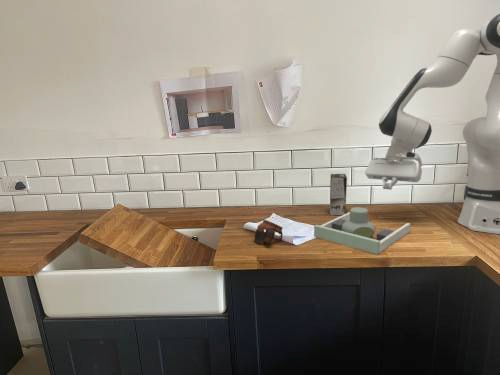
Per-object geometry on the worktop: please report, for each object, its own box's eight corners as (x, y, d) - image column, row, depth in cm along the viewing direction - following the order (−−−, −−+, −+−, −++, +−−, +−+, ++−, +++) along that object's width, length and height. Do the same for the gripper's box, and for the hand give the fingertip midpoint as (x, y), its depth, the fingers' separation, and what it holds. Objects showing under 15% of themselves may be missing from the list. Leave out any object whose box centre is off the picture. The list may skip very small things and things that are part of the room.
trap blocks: (395, 238, 117) (395, 231, 116) (387, 243, 113) (388, 236, 112) (340, 225, 131) (340, 219, 131) (331, 229, 127) (332, 223, 127)
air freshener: (347, 242, 115) (348, 214, 113) (338, 233, 123) (339, 206, 121) (378, 240, 116) (380, 212, 114) (367, 231, 124) (369, 205, 122)
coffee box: (345, 215, 143) (347, 177, 139) (329, 215, 144) (330, 177, 140) (344, 209, 151) (345, 173, 148) (329, 208, 153) (330, 173, 149)
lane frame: (409, 231, 123) (410, 220, 122) (377, 254, 105) (377, 242, 104) (350, 218, 139) (351, 208, 138) (314, 236, 121) (314, 225, 120)
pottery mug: (250, 238, 123) (259, 217, 123) (274, 248, 123) (283, 227, 124) (254, 242, 111) (264, 219, 111) (281, 254, 112) (291, 230, 112)
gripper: (369, 153, 139) (358, 181, 134) (422, 154, 125) (412, 186, 120) (374, 162, 143) (363, 190, 138) (426, 164, 129) (416, 195, 124)
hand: (386, 188), depth 129 cm, fingers closed
